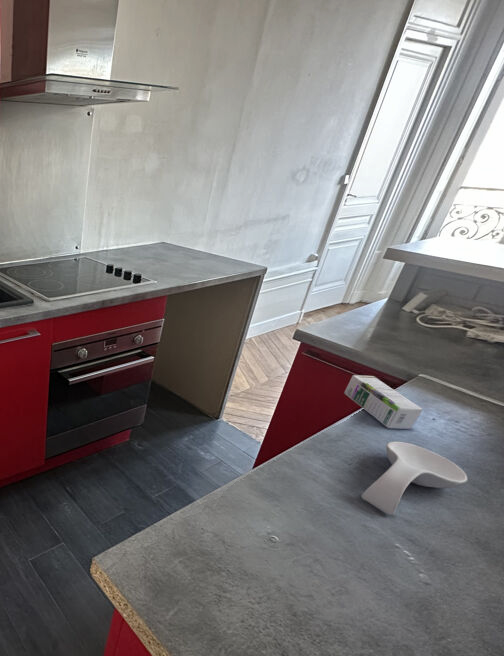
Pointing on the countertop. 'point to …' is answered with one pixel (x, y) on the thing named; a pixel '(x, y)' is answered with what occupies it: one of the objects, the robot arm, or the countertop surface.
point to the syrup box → (382, 402)
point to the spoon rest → (411, 474)
